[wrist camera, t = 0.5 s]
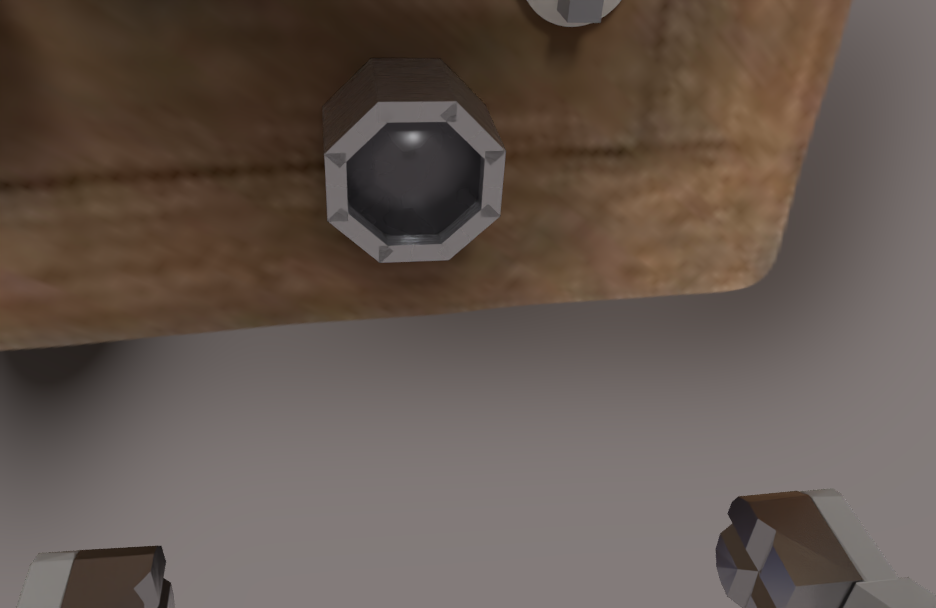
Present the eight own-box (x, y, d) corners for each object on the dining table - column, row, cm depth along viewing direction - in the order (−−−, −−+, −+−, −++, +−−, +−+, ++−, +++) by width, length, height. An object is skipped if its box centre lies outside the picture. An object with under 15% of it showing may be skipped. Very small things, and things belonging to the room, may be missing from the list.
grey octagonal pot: (319, 57, 50) (321, 101, 45) (489, 58, 52) (510, 100, 46) (327, 209, 56) (329, 265, 51) (478, 205, 58) (496, 258, 52)
